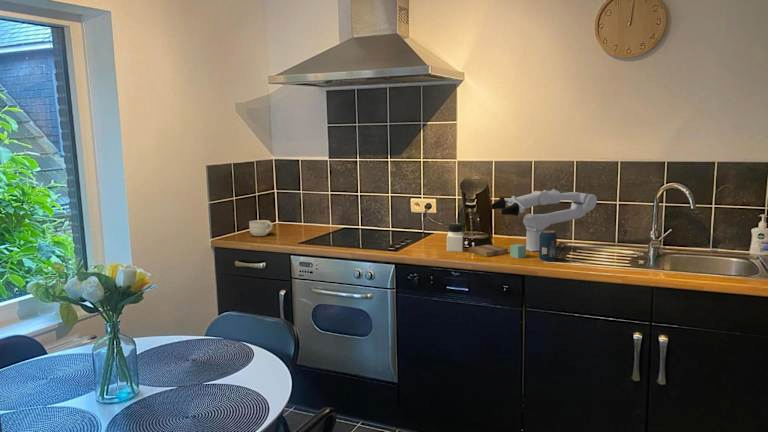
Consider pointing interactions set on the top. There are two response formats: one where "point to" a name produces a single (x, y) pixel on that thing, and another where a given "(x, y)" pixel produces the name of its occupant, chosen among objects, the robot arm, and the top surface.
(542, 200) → the robot arm
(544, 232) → the soda can
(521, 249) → the teal block
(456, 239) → the medicine bottle
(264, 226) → the teacup
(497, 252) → the walnut base
